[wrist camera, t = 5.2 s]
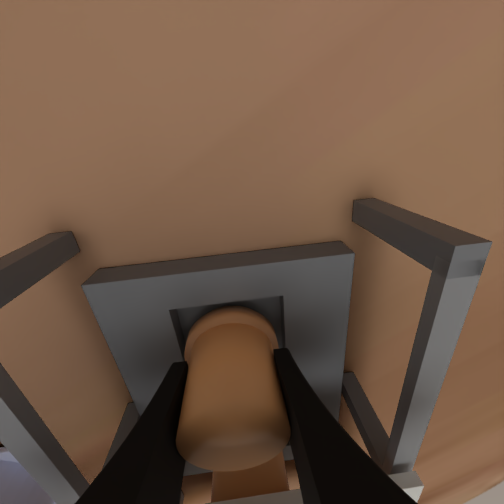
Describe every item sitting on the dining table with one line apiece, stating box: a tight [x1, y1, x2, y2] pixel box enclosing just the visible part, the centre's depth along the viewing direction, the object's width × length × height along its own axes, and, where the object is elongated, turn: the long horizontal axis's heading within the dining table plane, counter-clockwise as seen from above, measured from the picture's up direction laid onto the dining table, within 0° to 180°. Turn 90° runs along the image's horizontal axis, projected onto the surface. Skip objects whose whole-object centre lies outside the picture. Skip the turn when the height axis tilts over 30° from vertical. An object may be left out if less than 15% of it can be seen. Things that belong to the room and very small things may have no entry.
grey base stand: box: [0, 198, 492, 504], centre depth 14 cm, size 15×24×6 cm, turn 5°
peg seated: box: [211, 450, 289, 503], centre depth 14 cm, size 5×5×5 cm
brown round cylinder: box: [176, 306, 291, 471], centre depth 11 cm, size 5×5×5 cm
